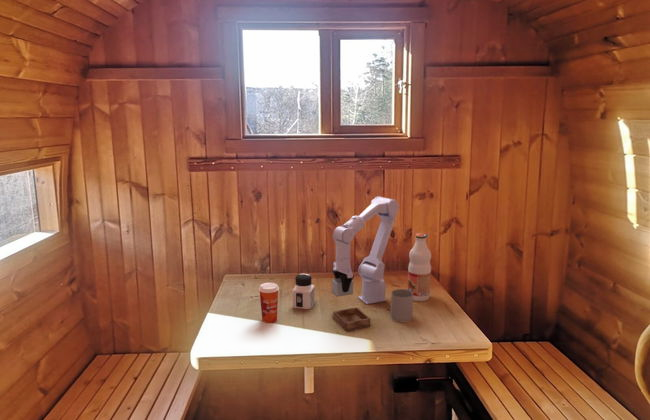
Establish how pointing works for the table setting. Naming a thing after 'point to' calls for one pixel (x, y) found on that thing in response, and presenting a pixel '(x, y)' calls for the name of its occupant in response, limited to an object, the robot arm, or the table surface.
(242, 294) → the table surface
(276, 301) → the paper cup
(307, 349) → the table surface
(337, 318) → the walnut crate
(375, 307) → the table surface
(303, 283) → the container
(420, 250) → the fruit juice
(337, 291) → the gray crate
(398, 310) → the cup
